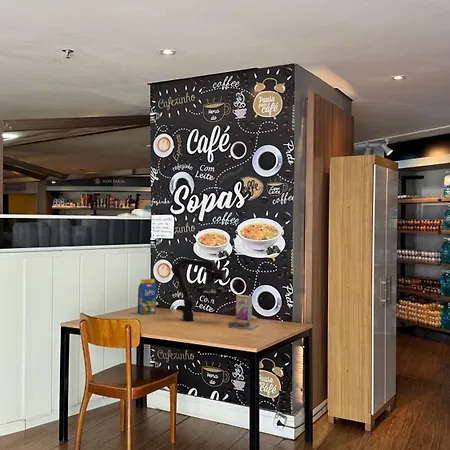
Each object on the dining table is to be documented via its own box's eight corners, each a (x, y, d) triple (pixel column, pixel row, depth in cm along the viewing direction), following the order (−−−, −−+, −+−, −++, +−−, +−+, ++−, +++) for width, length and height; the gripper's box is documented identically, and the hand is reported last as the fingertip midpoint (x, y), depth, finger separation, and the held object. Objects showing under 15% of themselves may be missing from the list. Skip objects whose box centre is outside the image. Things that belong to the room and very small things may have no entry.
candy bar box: (235, 318, 400) (235, 295, 400) (240, 318, 404) (240, 294, 404) (247, 320, 392) (247, 296, 393) (252, 319, 396) (252, 296, 396)
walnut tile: (228, 321, 363) (244, 323, 360) (233, 319, 373) (249, 320, 369) (228, 325, 363) (244, 327, 360) (233, 323, 373) (249, 325, 369)
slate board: (228, 327, 360) (228, 326, 360) (237, 324, 375) (237, 323, 375) (251, 329, 355) (251, 328, 355) (258, 325, 370) (258, 325, 370)
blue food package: (156, 313, 417) (157, 279, 418) (142, 314, 410) (143, 279, 410) (151, 312, 422) (152, 278, 423) (137, 313, 414) (138, 279, 415)
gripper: (192, 279, 377) (192, 303, 376) (218, 280, 370) (218, 305, 370) (199, 278, 387) (198, 301, 387) (225, 279, 380) (224, 303, 380)
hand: (209, 302), depth 381 cm, fingers closed
